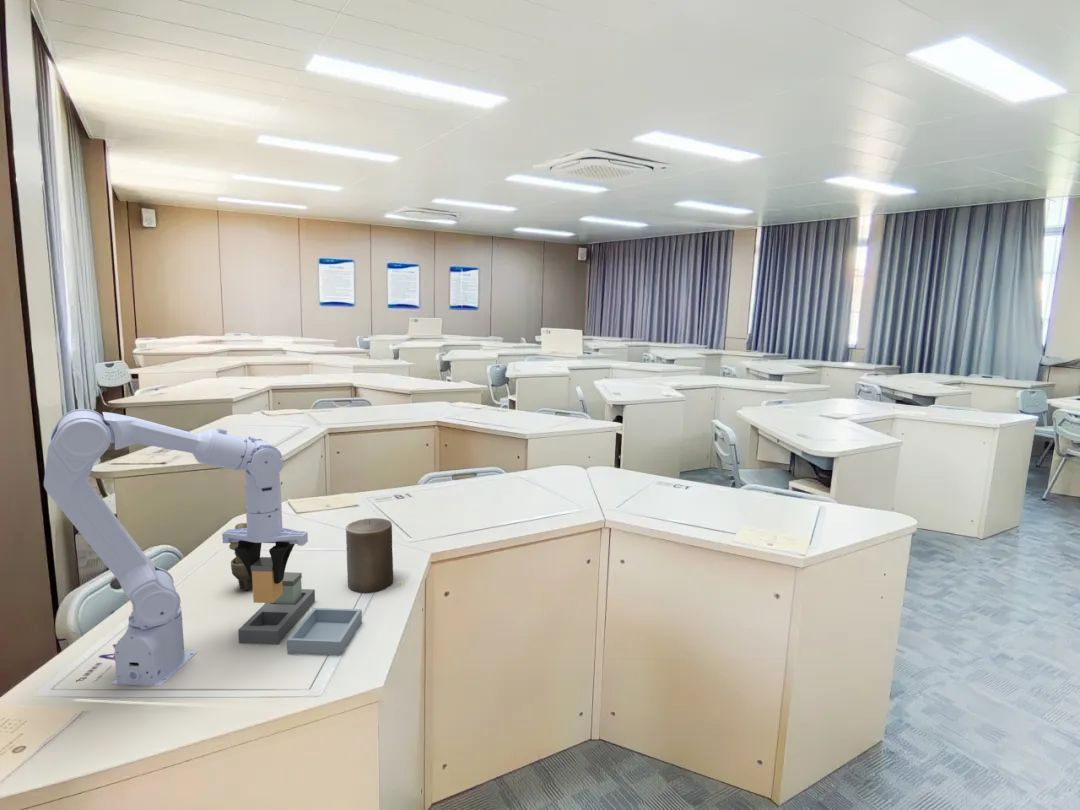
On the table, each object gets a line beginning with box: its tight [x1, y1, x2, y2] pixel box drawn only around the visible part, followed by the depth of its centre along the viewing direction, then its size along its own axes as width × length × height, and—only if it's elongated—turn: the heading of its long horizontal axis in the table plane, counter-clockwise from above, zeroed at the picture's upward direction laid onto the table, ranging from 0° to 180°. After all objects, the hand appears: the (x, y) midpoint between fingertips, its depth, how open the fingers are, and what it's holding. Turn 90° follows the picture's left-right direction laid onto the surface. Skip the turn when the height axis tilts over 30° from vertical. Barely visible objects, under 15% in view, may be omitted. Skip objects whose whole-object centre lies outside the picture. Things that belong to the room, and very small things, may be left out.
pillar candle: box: [345, 517, 394, 594], centre depth 126 cm, size 10×10×15 cm
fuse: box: [275, 571, 303, 605], centre depth 114 cm, size 4×4×7 cm
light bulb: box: [228, 522, 253, 592], centre depth 122 cm, size 6×6×15 cm
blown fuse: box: [251, 556, 283, 604], centre depth 105 cm, size 4×4×7 cm
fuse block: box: [237, 588, 316, 645], centre depth 110 cm, size 16×7×3 cm, turn 179°
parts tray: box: [286, 607, 363, 656], centre depth 105 cm, size 11×9×3 cm
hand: (267, 580), depth 105 cm, fingers closed on blown fuse, 4 cm apart
